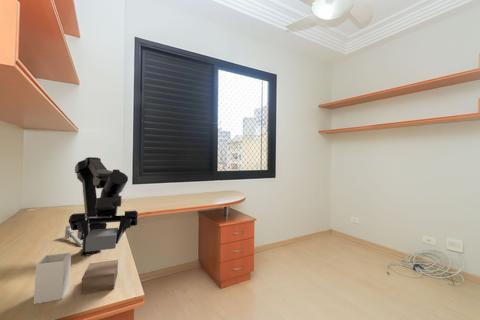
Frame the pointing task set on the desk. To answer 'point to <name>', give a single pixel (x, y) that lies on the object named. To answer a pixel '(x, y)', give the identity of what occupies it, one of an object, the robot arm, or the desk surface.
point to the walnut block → (99, 277)
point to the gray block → (101, 239)
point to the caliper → (72, 235)
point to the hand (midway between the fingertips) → (102, 244)
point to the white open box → (52, 277)
